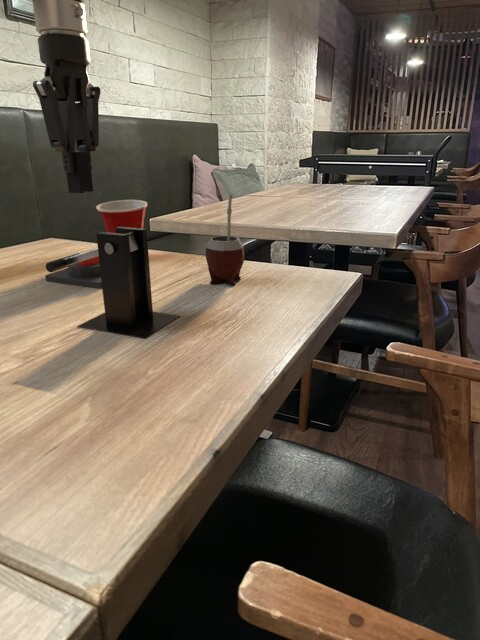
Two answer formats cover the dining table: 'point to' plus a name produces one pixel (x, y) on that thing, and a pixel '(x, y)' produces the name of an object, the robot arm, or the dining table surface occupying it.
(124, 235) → the bracket
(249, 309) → the dining table surface
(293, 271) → the dining table surface
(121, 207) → the plastic cup
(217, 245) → the mate gourd
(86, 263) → the button
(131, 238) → the lever
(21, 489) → the dining table surface
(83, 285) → the button box
